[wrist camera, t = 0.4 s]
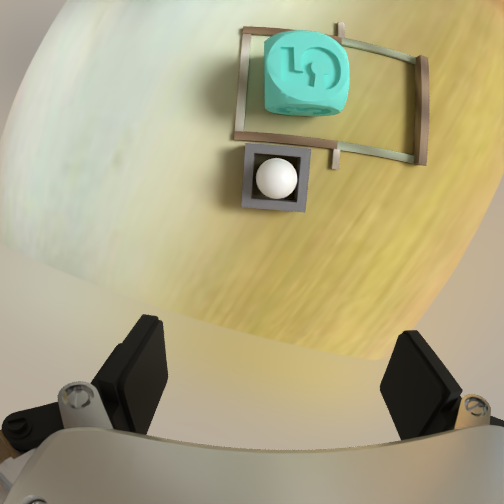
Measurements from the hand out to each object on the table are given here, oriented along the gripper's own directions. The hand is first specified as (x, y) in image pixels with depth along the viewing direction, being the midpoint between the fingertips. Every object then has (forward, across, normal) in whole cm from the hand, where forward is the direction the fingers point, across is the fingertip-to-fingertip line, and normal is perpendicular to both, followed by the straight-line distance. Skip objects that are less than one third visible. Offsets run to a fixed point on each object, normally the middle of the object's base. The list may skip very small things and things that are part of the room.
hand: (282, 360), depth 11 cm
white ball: (+24, 0, -6) cm, 25 cm away
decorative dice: (+26, -2, -17) cm, 31 cm away
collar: (+26, 0, -6) cm, 27 cm away
